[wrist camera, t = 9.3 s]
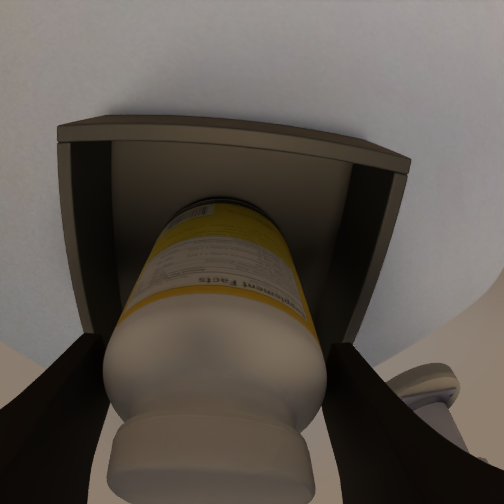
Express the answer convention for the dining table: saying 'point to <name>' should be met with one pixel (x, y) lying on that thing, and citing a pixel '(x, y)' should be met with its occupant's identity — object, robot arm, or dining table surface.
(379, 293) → the dining table surface
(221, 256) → the pill bottle
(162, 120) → the bin
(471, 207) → the dining table surface
